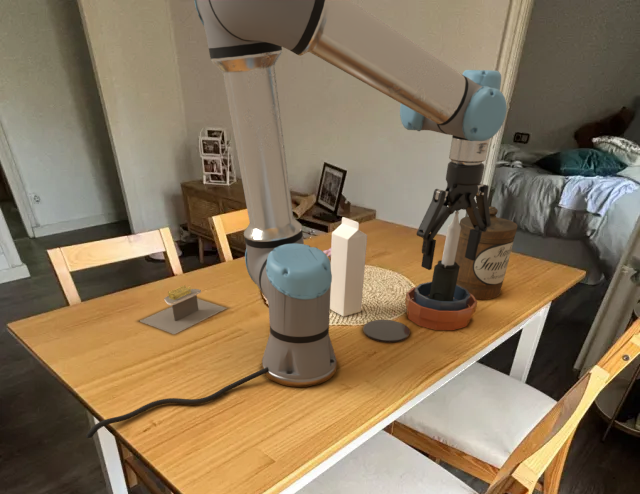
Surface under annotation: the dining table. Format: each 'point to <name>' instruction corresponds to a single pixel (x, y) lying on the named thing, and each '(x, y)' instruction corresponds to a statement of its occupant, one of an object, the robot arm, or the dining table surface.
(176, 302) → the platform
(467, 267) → the wooden container
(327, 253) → the rabbit figure
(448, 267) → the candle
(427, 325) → the stacked bowls
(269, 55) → the robot arm
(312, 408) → the dining table surface
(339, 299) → the milk
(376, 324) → the slate coaster
